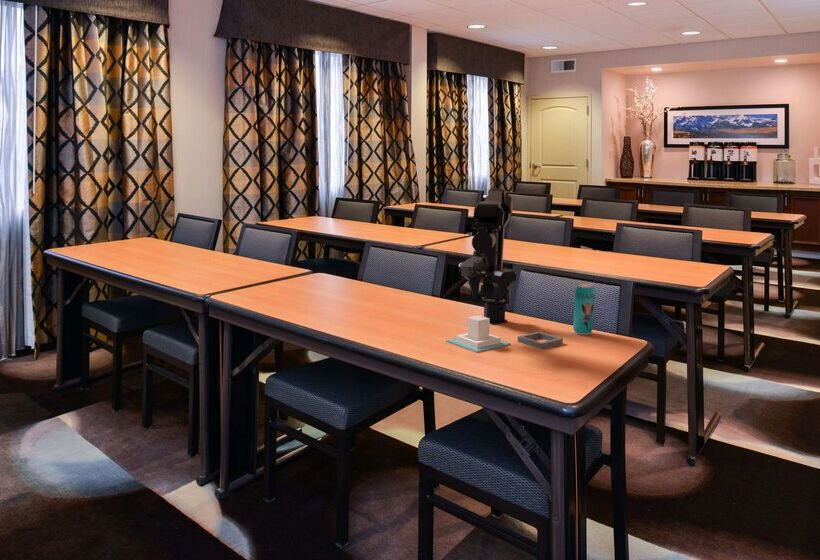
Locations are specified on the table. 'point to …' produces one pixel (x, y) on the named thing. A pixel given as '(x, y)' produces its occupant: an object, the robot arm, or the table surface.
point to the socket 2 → (551, 342)
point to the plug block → (478, 328)
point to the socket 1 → (477, 343)
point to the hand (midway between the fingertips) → (485, 300)
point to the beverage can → (584, 308)
